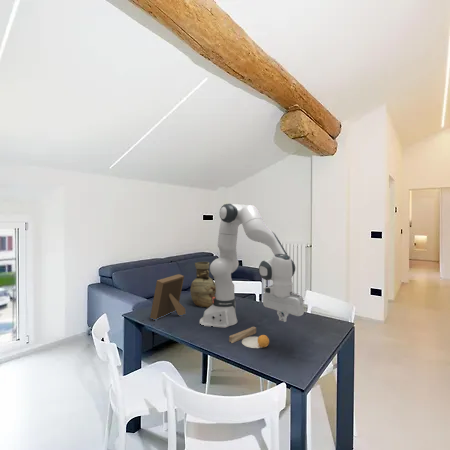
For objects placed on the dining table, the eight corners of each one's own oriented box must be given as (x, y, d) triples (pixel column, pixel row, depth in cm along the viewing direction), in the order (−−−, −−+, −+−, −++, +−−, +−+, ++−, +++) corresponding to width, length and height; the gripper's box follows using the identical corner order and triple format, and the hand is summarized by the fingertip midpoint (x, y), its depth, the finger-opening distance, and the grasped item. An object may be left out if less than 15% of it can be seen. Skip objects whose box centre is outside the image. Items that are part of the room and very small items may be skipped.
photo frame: (149, 320, 176) (149, 279, 175) (172, 309, 195) (172, 273, 194) (169, 324, 169) (168, 282, 168) (190, 313, 188) (190, 275, 188)
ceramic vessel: (224, 305, 203) (223, 263, 202) (195, 310, 194) (194, 265, 194) (214, 299, 220) (213, 260, 220) (187, 302, 212) (186, 262, 211)
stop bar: (256, 333, 154) (256, 327, 154) (232, 343, 142) (231, 337, 142) (253, 332, 156) (253, 326, 156) (229, 342, 144) (229, 336, 143)
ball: (256, 338, 135) (262, 349, 134) (266, 333, 136) (272, 344, 135) (254, 338, 141) (260, 348, 139) (264, 332, 142) (269, 343, 140)
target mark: (241, 348, 137) (241, 347, 137) (241, 336, 150) (241, 336, 150) (269, 348, 136) (269, 347, 136) (266, 337, 149) (266, 336, 149)
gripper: (306, 293, 124) (307, 325, 124) (269, 285, 139) (269, 314, 140) (298, 296, 120) (298, 329, 120) (260, 287, 135) (261, 317, 135)
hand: (282, 320), depth 130 cm, fingers closed
